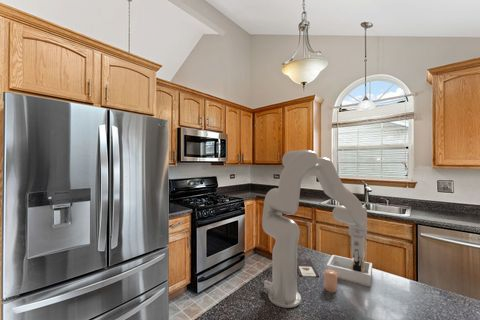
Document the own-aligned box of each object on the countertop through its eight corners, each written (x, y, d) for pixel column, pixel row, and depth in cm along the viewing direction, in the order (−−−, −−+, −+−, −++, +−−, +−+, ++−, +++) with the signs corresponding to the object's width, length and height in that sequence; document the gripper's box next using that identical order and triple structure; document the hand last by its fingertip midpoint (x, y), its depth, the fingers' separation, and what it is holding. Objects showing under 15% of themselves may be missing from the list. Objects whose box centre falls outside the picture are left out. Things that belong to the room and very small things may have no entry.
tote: (326, 275, 107) (326, 264, 107) (332, 264, 119) (332, 254, 119) (370, 287, 97) (370, 275, 97) (372, 273, 109) (372, 263, 109)
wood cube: (351, 272, 106) (351, 261, 106) (352, 268, 110) (352, 257, 110) (363, 275, 103) (363, 264, 103) (364, 270, 107) (364, 260, 107)
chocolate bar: (309, 259, 124) (319, 275, 106) (309, 260, 124) (319, 277, 106) (293, 258, 124) (299, 275, 106) (293, 260, 124) (299, 277, 106)
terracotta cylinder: (323, 289, 95) (323, 273, 95) (326, 284, 99) (326, 268, 99) (336, 293, 92) (336, 276, 92) (338, 288, 97) (338, 271, 97)
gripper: (365, 238, 97) (365, 281, 97) (368, 228, 112) (368, 265, 111) (346, 235, 101) (346, 276, 101) (351, 226, 116) (351, 262, 115)
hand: (357, 270), depth 106 cm, fingers closed on wood cube, 4 cm apart
